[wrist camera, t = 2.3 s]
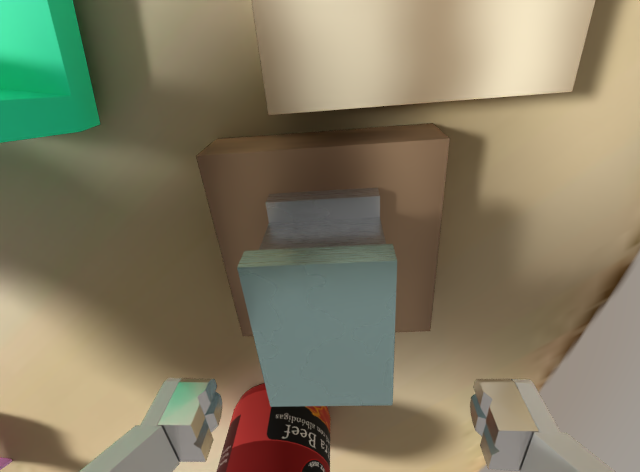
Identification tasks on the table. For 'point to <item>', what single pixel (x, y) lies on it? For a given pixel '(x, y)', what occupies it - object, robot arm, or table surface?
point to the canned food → (276, 437)
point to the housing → (323, 299)
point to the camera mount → (43, 71)
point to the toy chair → (4, 462)
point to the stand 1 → (415, 50)
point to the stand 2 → (336, 174)
